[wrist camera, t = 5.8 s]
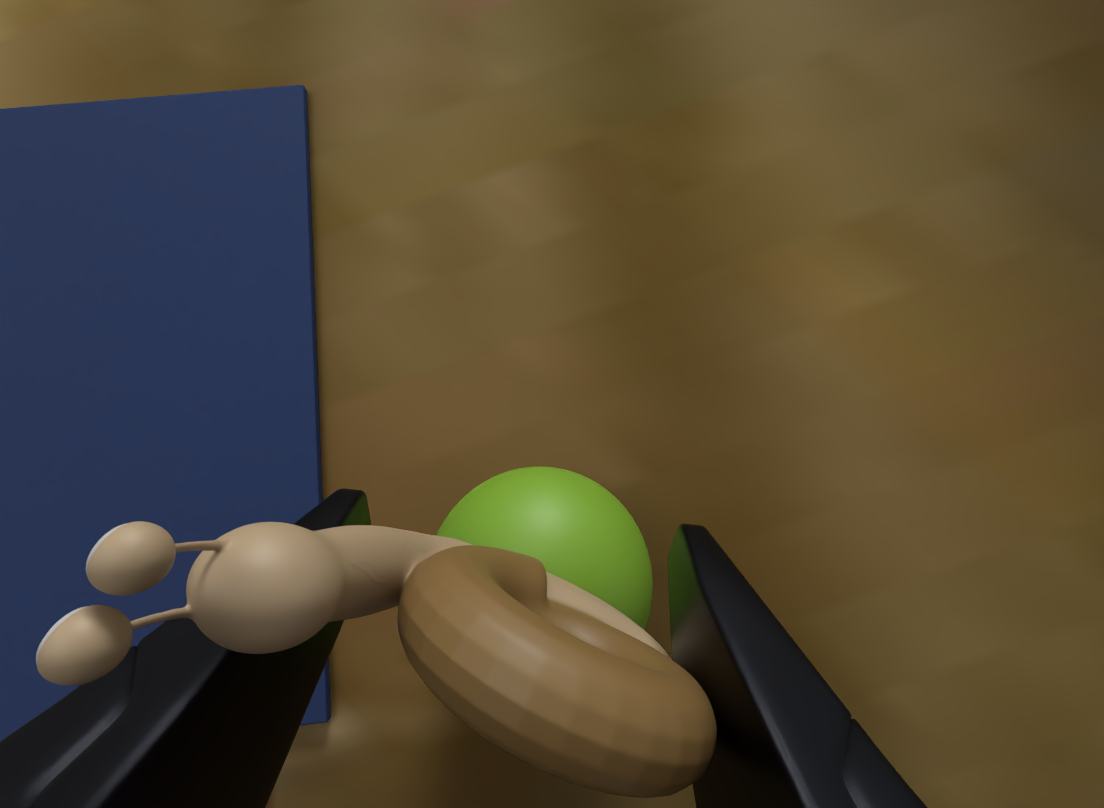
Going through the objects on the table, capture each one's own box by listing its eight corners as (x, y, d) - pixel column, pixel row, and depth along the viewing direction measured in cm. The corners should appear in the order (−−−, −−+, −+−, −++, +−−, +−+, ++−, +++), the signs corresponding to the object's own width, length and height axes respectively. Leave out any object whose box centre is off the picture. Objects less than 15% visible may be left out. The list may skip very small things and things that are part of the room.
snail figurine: (462, 431, 16) (229, 255, 4) (657, 512, 16) (1025, 579, 4) (386, 602, 15) (-201, 1023, 3) (590, 692, 15) (795, 1526, 3)
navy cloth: (331, 717, 15) (326, 722, 14) (-108, 771, 14) (-122, 777, 14) (307, 90, 18) (303, 84, 17) (-55, 120, 17) (-65, 113, 17)
